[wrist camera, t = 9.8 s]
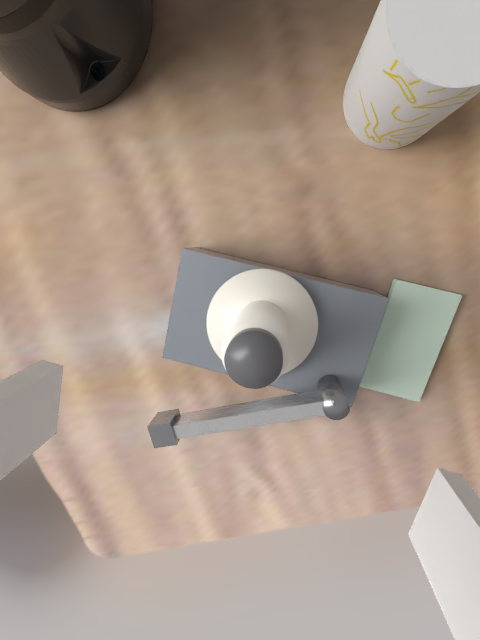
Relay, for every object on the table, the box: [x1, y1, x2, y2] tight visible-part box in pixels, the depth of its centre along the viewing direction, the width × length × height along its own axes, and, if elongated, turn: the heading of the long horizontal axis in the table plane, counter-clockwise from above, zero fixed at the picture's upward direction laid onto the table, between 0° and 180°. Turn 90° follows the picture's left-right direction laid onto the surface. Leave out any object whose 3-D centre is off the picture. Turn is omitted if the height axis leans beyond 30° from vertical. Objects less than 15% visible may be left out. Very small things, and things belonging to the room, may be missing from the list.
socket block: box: [163, 248, 389, 407], centre depth 31 cm, size 10×18×5 cm, turn 77°
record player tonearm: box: [148, 375, 350, 448], centre depth 28 cm, size 2×16×4 cm, turn 104°
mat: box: [359, 279, 462, 402], centre depth 32 cm, size 11×6×1 cm, turn 167°
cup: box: [343, 0, 480, 150], centre depth 22 cm, size 8×8×12 cm
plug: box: [207, 268, 318, 389], centre depth 26 cm, size 9×9×14 cm
